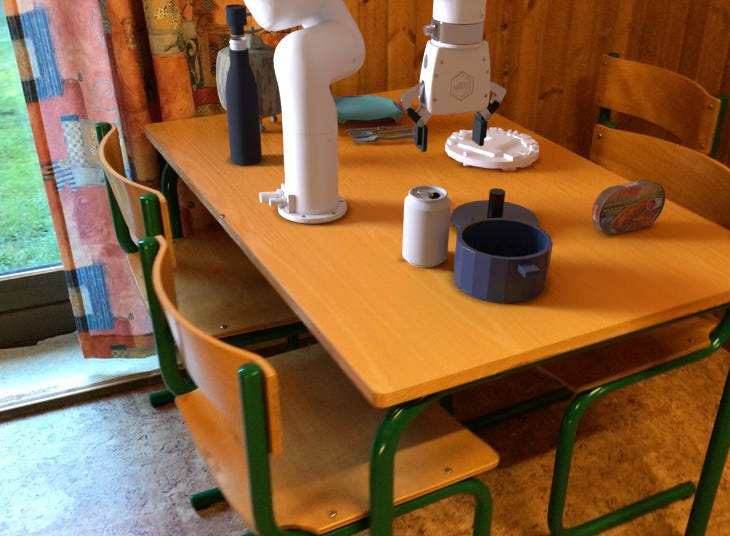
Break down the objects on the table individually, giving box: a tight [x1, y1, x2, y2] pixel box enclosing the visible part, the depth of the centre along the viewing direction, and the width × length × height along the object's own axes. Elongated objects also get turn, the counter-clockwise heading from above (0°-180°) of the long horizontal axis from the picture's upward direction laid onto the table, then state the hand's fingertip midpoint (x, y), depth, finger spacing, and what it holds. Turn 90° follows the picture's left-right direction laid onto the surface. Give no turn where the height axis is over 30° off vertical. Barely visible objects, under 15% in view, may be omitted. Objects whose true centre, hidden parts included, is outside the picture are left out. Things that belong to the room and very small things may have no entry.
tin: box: [591, 179, 666, 236], centre depth 149 cm, size 15×3×8 cm, turn 117°
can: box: [401, 184, 452, 269], centre depth 136 cm, size 8×8×12 cm
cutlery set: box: [332, 94, 414, 144], centre depth 196 cm, size 20×30×2 cm, turn 15°
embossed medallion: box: [444, 127, 540, 172], centre depth 180 cm, size 20×20×3 cm
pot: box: [453, 215, 554, 304], centre depth 132 cm, size 15×20×8 cm
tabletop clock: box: [215, 11, 282, 134], centre depth 184 cm, size 14×9×25 cm, turn 122°
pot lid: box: [450, 187, 539, 230], centre depth 150 cm, size 16×16×6 cm
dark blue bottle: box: [224, 3, 263, 167], centre depth 166 cm, size 6×6×30 cm
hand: (449, 146), depth 132 cm, fingers open, 9 cm apart
